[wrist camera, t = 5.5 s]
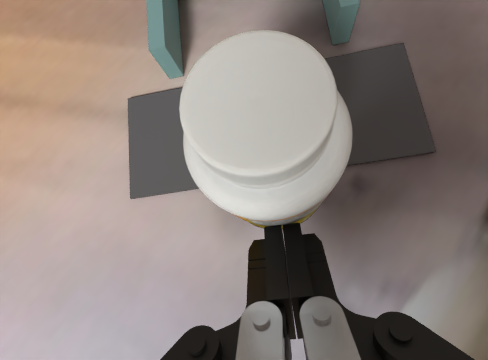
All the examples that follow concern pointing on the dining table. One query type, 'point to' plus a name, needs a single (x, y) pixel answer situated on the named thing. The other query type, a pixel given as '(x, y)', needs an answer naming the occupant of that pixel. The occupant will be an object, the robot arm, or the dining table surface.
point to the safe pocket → (169, 41)
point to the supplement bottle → (264, 127)
